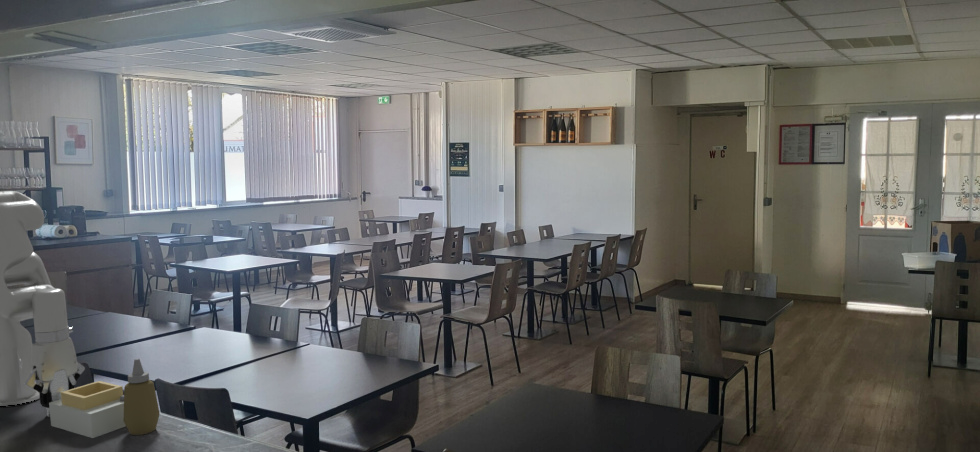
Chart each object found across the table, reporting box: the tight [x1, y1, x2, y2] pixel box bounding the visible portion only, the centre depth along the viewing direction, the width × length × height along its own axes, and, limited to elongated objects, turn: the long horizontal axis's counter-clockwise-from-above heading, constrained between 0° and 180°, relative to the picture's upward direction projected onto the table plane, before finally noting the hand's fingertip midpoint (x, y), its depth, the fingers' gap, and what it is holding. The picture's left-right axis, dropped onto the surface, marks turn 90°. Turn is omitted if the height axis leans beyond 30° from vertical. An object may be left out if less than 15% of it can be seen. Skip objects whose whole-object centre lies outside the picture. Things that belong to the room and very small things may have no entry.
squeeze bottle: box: [123, 358, 161, 436], centre depth 180 cm, size 8×8×18 cm
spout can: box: [46, 369, 69, 418], centre depth 195 cm, size 6×6×14 cm
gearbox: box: [49, 380, 126, 439], centre depth 187 cm, size 18×12×9 cm, turn 59°
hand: (58, 402), depth 195 cm, fingers closed on spout can, 5 cm apart
